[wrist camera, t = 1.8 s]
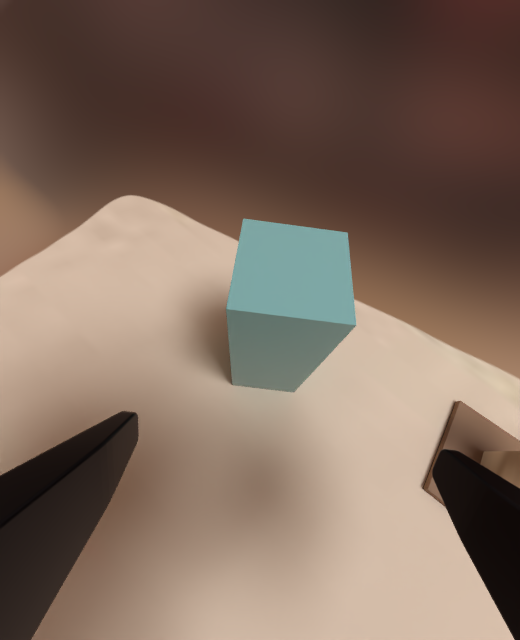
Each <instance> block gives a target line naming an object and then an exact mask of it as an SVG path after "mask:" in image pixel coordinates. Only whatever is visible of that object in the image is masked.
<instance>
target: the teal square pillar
mask: <svg viewBox="0 0 520 640" xmlns="http://www.w3.org/2000/svg"><path fill="white" fill-rule="evenodd" d="M226 314H227V327H228V339H229V351H230V364H231V376H232V385H237V386H245V387H253V388H262V389H270V390H279V391H287V392H295V391H296V390H297V388H298V387H299V386H300V385H301V384H302V383H303V382H304V381H305V380H306V379H307V378H308V377H309V376H310V375H311V373H312V372H313V371H314V370H315V369H316V368H317V367H318V366H319V365H320V364H321V363H322V362H323V361H324V360H325V358H326V357H327V356H328V355H329V354H330V353H331V352H332V351H333V350H334V349H335V348H336V347H337V346H338V344H339V343H340V342H341V341H342V340H343V339H344V338H345V337H346V336H347V335H348V334H349V333H350V332H351V331H352V329H353V328H354V327H355V326H356V317H355V306H354V296H353V285H352V275H351V264H350V254H349V244H348V234H347V233H346V232H339V231H331V230H324V229H316V228H309V227H302V226H294V225H287V224H279V223H272V222H264V221H257V220H249V219H243V224H242V229H241V234H240V239H239V244H238V249H237V255H236V260H235V265H234V270H233V275H232V281H231V286H230V291H229V296H228V301H227V307H226Z"/></svg>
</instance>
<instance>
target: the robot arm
mask: <svg viewBox="0 0 520 640" xmlns="http://www.w3.org/2000/svg"><path fill="white" fill-rule="evenodd" d="M137 441H138V415H137V413H135V412H127V411H122V412H119V413H118V414H116V415H114V416H112V417H110V418H108V419H106V420H104V421H102V422H101V423H99V424H97V425H95V426H93V427H91V428H89V429H87V430H85V431H84V432H82V433H80V434H78V435H76V436H74V437H72V438H70V439H68V440H67V441H65V442H63V443H61V444H59V445H57V446H55V447H53V448H51V449H50V450H48V451H46V452H44V453H42V454H40V455H38V456H36V457H34V458H33V459H31V460H29V461H27V462H25V463H23V464H21V465H19V466H17V467H16V468H14V469H12V470H10V471H8V472H6V473H4V474H2V475H0V640H31V639H32V637H33V635H34V633H35V632H36V630H37V628H38V626H39V625H40V623H41V621H42V619H43V618H44V616H45V614H46V613H47V611H48V609H49V607H50V606H51V604H52V602H53V600H54V599H55V597H56V595H57V593H58V592H59V590H60V588H61V586H62V585H63V583H64V581H65V579H66V578H67V576H68V574H69V572H70V571H71V569H72V567H73V565H74V564H75V562H76V560H77V558H78V557H79V555H80V553H81V552H82V550H83V548H84V546H85V545H86V543H87V541H88V539H89V538H90V536H91V534H92V532H93V531H94V529H95V527H96V525H97V524H98V522H99V520H100V518H101V517H102V515H103V513H104V511H105V510H106V508H107V506H108V504H109V502H110V500H111V498H112V496H113V494H114V492H115V490H116V488H117V486H118V483H119V481H120V479H121V477H122V475H123V472H124V470H125V468H126V466H127V464H128V462H129V459H130V457H131V455H132V453H133V451H134V448H135V446H136V444H137ZM432 476H433V480H434V482H435V484H436V486H437V489H438V491H439V493H440V495H441V497H442V500H443V502H444V504H445V506H446V509H447V511H448V513H449V515H450V517H451V520H452V522H453V524H454V526H455V529H456V531H457V533H458V535H459V537H460V539H461V541H462V543H463V545H464V547H465V549H466V551H467V553H468V554H469V556H470V558H471V560H472V562H473V564H474V566H475V567H476V569H477V571H478V573H479V575H480V577H481V578H482V580H483V582H484V584H485V586H486V588H487V590H488V591H489V593H490V595H491V597H492V599H493V601H494V602H495V604H496V606H497V608H498V610H499V612H500V614H501V615H502V617H503V619H504V621H505V623H506V625H507V627H508V628H509V630H510V632H511V634H512V636H513V638H514V639H515V640H520V488H518V487H517V486H515V485H513V484H512V483H510V482H508V481H507V480H505V479H504V478H502V477H500V476H499V475H497V474H496V473H494V472H492V471H491V470H489V469H487V468H486V467H484V466H483V465H481V464H479V463H478V462H476V461H474V460H473V459H471V458H470V457H468V456H466V455H465V454H463V453H461V452H460V451H457V450H452V449H442V450H441V451H440V452H439V454H438V457H437V459H436V461H435V464H434V466H433V469H432Z"/></svg>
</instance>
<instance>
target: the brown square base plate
mask: <svg viewBox="0 0 520 640" xmlns="http://www.w3.org/2000/svg"><path fill="white" fill-rule="evenodd" d="M442 449H452V450H457V451H460V452H461V453H463V454H465V455H466V456H468V457H470V458H471V459H473V460H474V461H476V462H478V463H479V464H481V465H483V466H484V467H486V468H487V469H489V470H491V471H492V472H494V473H496V474H497V475H499V476H500V477H502V478H504V479H505V480H507V481H508V482H510V483H512V484H513V485H515V486H517V487H518V488H520V441H519V440H518V439H516V438H515V437H513V436H512V435H510V434H509V433H507V432H506V431H504V430H503V429H501V428H500V427H498V426H497V425H495V424H494V423H492V422H491V421H490V420H488V419H487V418H485V417H484V416H482V415H481V414H479V413H478V412H476V411H475V410H473V409H472V408H470V407H469V406H467V405H466V404H464V403H463V402H462V401H457V402H456V403H455V406H454V408H453V411H452V414H451V416H450V419H449V422H448V424H447V427H446V430H445V432H444V435H443V438H442V440H441V443H440V446H439V448H438V451H437V454H436V456H435V459H434V462H433V464H432V467H431V469H430V472H429V475H428V477H427V480H426V483H425V485H424V488H423V489H424V490H425V491H427V492H428V493H429V494H430V495H432V496H433V497H434V498H435V499H437V500H438V501H439V502H440V503H442V504H443V505H444V506H445V504H444V502H443V500H442V497H441V495H440V493H439V491H438V489H437V486H436V484H435V482H434V480H433V476H432V469H433V466H434V464H435V461H436V459H437V457H438V454H439V452H440V451H441V450H442ZM445 507H446V506H445Z"/></svg>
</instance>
